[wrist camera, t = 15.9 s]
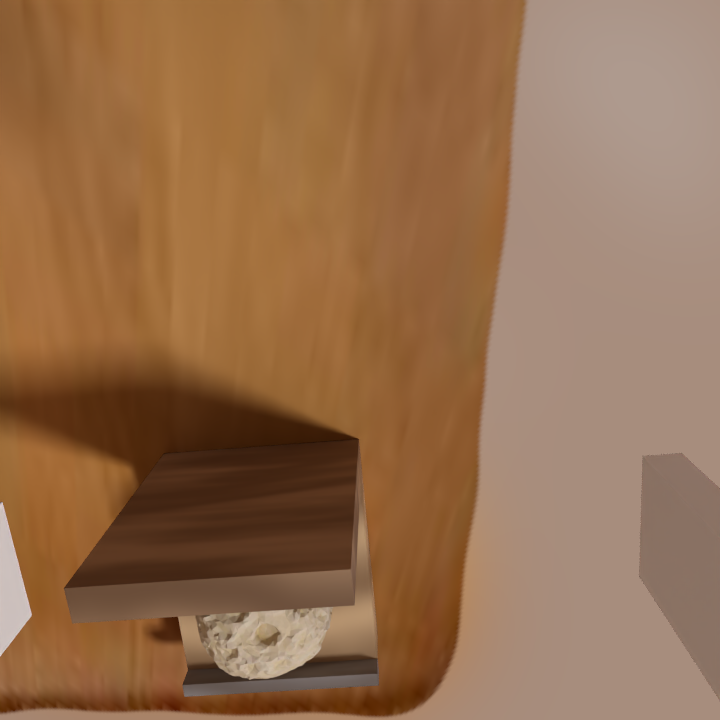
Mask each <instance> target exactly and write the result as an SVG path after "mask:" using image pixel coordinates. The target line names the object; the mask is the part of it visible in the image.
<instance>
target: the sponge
mask: <svg viewBox="0 0 720 720" xmlns="http://www.w3.org/2000/svg"><path fill="white" fill-rule="evenodd" d="M332 609H333V607H322V608H306V609H291V610H275V611H259V612H243V613H227V614H212V615H196V616H195V618H196V621H197V627H198V632H199V636H200V640H201V643H202V645H203V646H204V648H205V649H206V651H207V653H208V654H209V656H210V657H212V658H213V660H214V661H215V662H216V664H217V665H218V667H219V668H220V669H222V670H224V671H225V672H226V673H228V674H230V675H232V676H240V677H242V678H248V679H249V680H250V679H254V678H255V679H269V678H274V677H277V676H280V675H282V674H285V673H287V672H289V671H291V670H293V669H295V668H297V667H298V666H302V665H303V664H304V663H305V662H306V661H308V660H310V659H312V658H313V657H314V656H315V655H316V654H317V653H318V652H319V651H320V649H321V644H322V642H323V639H324V637H325V634H326V631H327V630H328V629H329V628H330V621H331V615H332Z"/></svg>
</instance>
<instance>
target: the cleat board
mask: <svg viewBox="0 0 720 720" xmlns="http://www.w3.org/2000/svg"><path fill="white" fill-rule="evenodd" d="M64 590H65V595H66V599H67V603H68V607H69V611H70V615H71V619H72V623H85V622H101V621H117V620H133V619H149V618H164V617H178V619H179V625H180V630H181V635H182V640H183V646H184V651H185V656H186V661H187V667H188V672H187V674H186V677H185V680H184V682H183V690H184V695H185V697H186V696H203V695H220V694H237V693H255V692H272V691H289V690H307V689H324V688H341V687H358V686H376V685H379V669H378V659H377V623H376V612H375V602H374V592H373V581H372V571H371V561H370V550H369V540H368V530H367V519H366V509H365V499H364V488H363V478H362V468H361V457H360V447H359V439H353V440H340V441H326V442H313V443H299V444H286V445H273V446H259V447H246V448H232V449H219V450H206V451H192V452H179V453H165V454H163V456H162V457H161V458H160V460H159V461H158V462H157V464H156V465H155V466H154V468H153V469H152V470H151V472H150V473H149V474H148V476H147V477H146V478H145V480H144V481H143V482H142V484H141V485H140V487H139V488H138V489H137V491H136V492H135V493H134V495H133V496H132V497H131V499H130V500H129V501H128V503H127V504H126V505H125V507H124V508H123V509H122V511H121V512H120V513H119V515H118V516H117V517H116V519H115V520H114V522H113V523H112V524H111V526H110V527H109V528H108V530H107V531H106V532H105V534H104V535H103V536H102V538H101V539H100V540H99V542H98V543H97V544H96V546H95V547H94V548H93V550H92V551H91V553H90V554H89V555H88V557H87V558H86V559H85V561H84V562H83V563H82V565H81V566H80V567H79V569H78V570H77V571H76V573H75V574H74V575H73V577H72V578H71V579H70V581H69V582H68V584H67V585H66V586H65V588H64ZM322 607H333V609H332V615H331V621H330V628H329V629H328V630H327V631H326V634H325V637H324V639H323V642H322V644H321V649H320V651H319V652H318V653H317V654H316V655H315V656H314V657H313V658H312V659H310V660H308V661H306V662H305V663H304V664H303V665H302V666H298V667H297V668H295V669H293V670H291V671H289V672H287V673H285V674H282V675H280V676H277V677H274V678H269V679H255V678H254V679H250V680H249V679H248V678H242V677H240V676H232V675H230V674H228V673H226V672H225V671H224V670H222V669H220V668H219V667H218V665H217V664H216V662H215V661H214V660H213V658H212V657H210V656H209V654H208V653H207V651H206V649H205V648H204V646H203V645H202V643H201V640H200V636H199V632H198V627H197V621H196V618H195V616H196V615H212V614H227V613H243V612H259V611H275V610H291V609H306V608H322Z"/></svg>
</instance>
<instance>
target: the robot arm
mask: <svg viewBox="0 0 720 720" xmlns="http://www.w3.org/2000/svg"><path fill="white" fill-rule="evenodd" d="M642 459H643V460H642V494H641V533H640V566H639V577H640V578H641V579H642V581H643V583H644V584H645V586H646V588H647V589H648V591H649V592H650V594H651V595H652V597H653V598H654V600H655V601H656V603H657V605H658V606H659V608H660V609H661V611H662V612H663V614H664V615H665V617H666V618H667V620H668V622H669V623H670V625H671V626H672V628H673V629H674V631H675V632H676V634H677V635H678V637H679V639H680V640H681V641H682V643H683V644H684V646H685V648H686V649H687V651H688V652H689V654H690V655H691V657H692V659H693V660H694V662H695V663H696V665H697V666H698V668H699V669H700V671H701V672H702V674H703V675H704V677H705V679H706V680H707V682H708V683H709V685H710V686H711V688H712V689H713V691H714V693H715V694H716V696H717V697H718V699H719V700H720V488H719V487H718V486H717V485H716V484H715V483H713V482H712V481H711V480H710V479H709V478H708V477H707V476H706V475H705V474H704V473H703V472H701V470H699V469H698V468H697V467H696V466H695V465H694V464H693V463H692V462H691V461H690V460H689V459H688V458H687V457H685V456H684V455H683V454H682V453H675V454H663V455H662V454H661V455H647V456H643V458H642ZM31 616H32V614H31V610H30V606H29V603H28V599H27V595H26V591H25V587H24V583H23V579H22V576H21V572H20V568H19V564H18V560H17V556H16V553H15V549H14V545H13V541H12V537H11V533H10V529H9V526H8V522H7V518H6V514H5V510H4V506H3V502H0V656H1V655H2V653H3V652H4V651H5V649H6V648H7V647H8V646H9V644H10V643H11V642H12V640H13V639H14V638H15V636H16V635H17V634H18V633H19V631H20V630H21V629H22V627H23V626H24V625H25V623H26V622H27V621H28V620H29V618H30V617H31Z"/></svg>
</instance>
